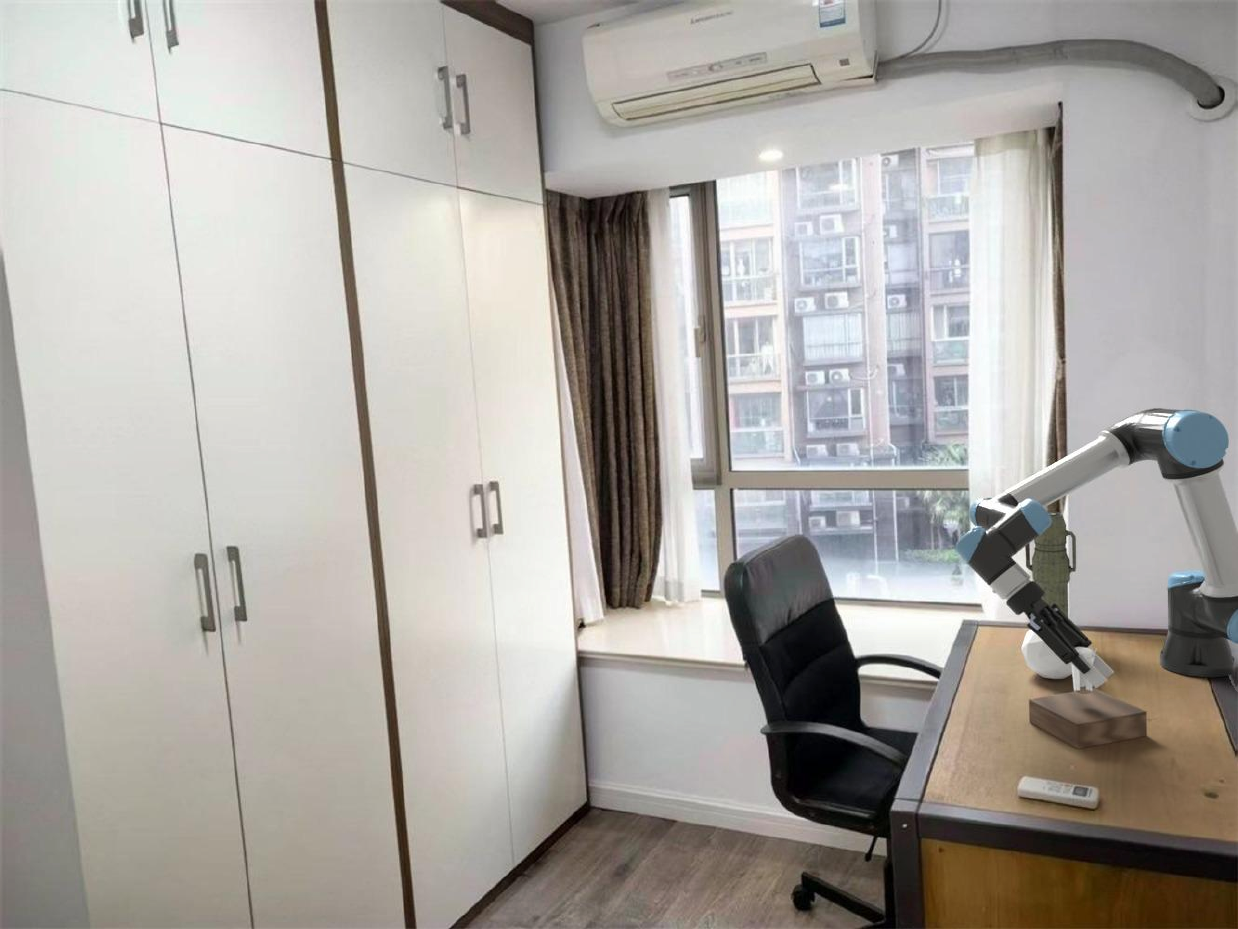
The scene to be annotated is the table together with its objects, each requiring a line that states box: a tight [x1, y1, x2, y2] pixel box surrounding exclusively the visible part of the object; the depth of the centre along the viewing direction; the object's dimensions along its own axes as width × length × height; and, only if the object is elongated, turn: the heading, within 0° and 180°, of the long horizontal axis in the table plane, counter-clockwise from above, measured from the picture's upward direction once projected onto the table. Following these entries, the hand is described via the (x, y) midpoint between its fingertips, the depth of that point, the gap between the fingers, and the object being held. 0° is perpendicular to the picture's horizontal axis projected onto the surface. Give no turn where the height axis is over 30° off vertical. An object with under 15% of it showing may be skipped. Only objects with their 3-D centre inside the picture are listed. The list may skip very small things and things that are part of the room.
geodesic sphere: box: [1020, 629, 1072, 680], centre depth 211 cm, size 14×14×14 cm
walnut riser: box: [1028, 687, 1148, 750], centre depth 182 cm, size 16×14×5 cm
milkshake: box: [1071, 647, 1098, 694], centre depth 181 cm, size 4×5×10 cm
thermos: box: [1024, 511, 1077, 618], centre depth 232 cm, size 9×12×35 cm
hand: (1105, 680), depth 179 cm, fingers closed on milkshake, 5 cm apart
